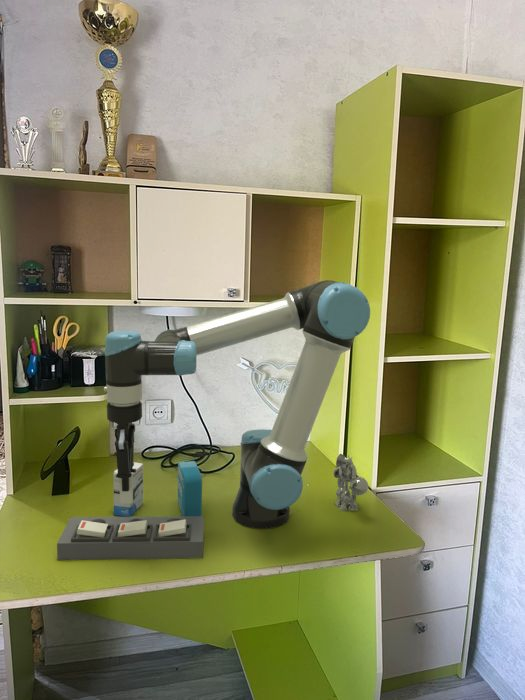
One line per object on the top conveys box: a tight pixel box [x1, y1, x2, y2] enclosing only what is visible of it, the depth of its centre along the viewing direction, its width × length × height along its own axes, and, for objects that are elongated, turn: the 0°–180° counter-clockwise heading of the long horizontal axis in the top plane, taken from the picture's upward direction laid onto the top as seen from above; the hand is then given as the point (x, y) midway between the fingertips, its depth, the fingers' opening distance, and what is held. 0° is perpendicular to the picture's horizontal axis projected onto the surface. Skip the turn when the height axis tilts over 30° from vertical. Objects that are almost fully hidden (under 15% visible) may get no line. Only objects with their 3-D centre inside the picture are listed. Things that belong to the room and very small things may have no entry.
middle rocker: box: [118, 520, 148, 537], centre depth 126 cm, size 6×4×1 cm, turn 95°
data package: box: [177, 460, 203, 516], centre depth 146 cm, size 12×4×12 cm, turn 17°
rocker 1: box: [77, 520, 108, 538], centre depth 125 cm, size 6×4×1 cm, turn 95°
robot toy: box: [333, 453, 369, 512], centre depth 150 cm, size 15×6×15 cm, turn 17°
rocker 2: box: [158, 519, 187, 537], centre depth 127 cm, size 6×4×1 cm, turn 95°
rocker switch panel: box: [56, 515, 205, 561], centre depth 129 cm, size 32×12×5 cm, turn 95°
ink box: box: [112, 461, 144, 517], centre depth 146 cm, size 8×5×12 cm, turn 168°
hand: (126, 501), depth 125 cm, fingers closed
